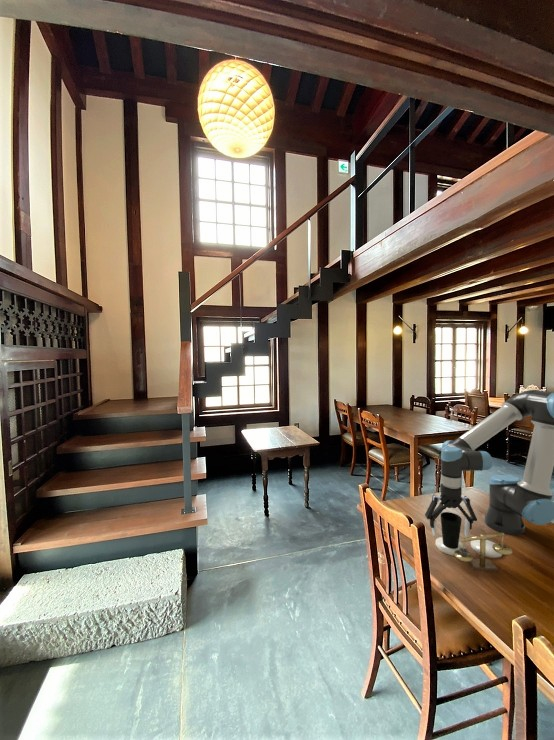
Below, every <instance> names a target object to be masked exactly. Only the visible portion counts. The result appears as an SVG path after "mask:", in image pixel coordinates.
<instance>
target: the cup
mask: <svg viewBox="0 0 554 740" xmlns="http://www.w3.org/2000/svg"><path fill="white" fill-rule="evenodd" d="M462 520H463V519H462V517H461V516H460V515H459V514H456V513H453V512H451V511H450V512H449V511H442V512H441V513H440V523H441V534H442V535H441V537H442V538H443V544H444V546H446V547H448V548H451V549H456V548H458V544H459V541H460V535H461V526H462Z"/></svg>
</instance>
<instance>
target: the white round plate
mask: <svg viewBox="0 0 554 740" xmlns="http://www.w3.org/2000/svg"><path fill="white" fill-rule="evenodd" d="M493 544H497V543H496V542H493V541H491V540H488V539H486V553H485V558H490V559H499V558H501V557H503V554H500V553H498V552H496V551H495V550H494V549H493ZM470 548H471V549H472V550H473V552H474V553H477V554H478V555H480V540H474V541H470Z"/></svg>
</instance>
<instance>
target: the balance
mask: <svg viewBox="0 0 554 740" xmlns="http://www.w3.org/2000/svg"><path fill="white" fill-rule="evenodd" d="M499 537H500V538H501V543H496V544H493V549H494V550H495V551H496V552H498V553H500V554H503V555H504V556H511V555H512V554H513V550H512V548H510V547H509V546H507V545H505V544H504V537H505V533H502V532H497V533H490V534H489V533H488V534H484V533H480V534H479V535H477V536H470V537H469V538H467V537H463V538H461V541H462V544H463V548H459V550H457V551H455V552H454V555H455V556H454V557H455V558H456V559H457V560H459V561H461V562H465V563H468V564H469V565H470V566H471V568H472V569H473V570H474V571H477V572H478V571H479V572H493V573H494V572H495V573H498V571H499V570H498V567H497V566H496V565H495V564H494V563H493V562H492V561H493V560H491V559H486V557H485V553H486V540H488V539H494V538H499ZM474 540H480V554H479V558H474V557H473V555H472V554H471V553H469V552H468V551H467V548H466V549H464V546H465V543H466V542H471V541H474ZM503 555H502V556H503Z"/></svg>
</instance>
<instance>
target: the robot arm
mask: <svg viewBox="0 0 554 740" xmlns="http://www.w3.org/2000/svg"><path fill="white" fill-rule="evenodd" d="M526 417H531V418H530V422H531V424H533V431H532V436H531V440H530V443H529V449H528V453H527V458H526V462H525V467H524V473H523V477H522V479H520V478H518V477H516V476H512V475H505V474H496V475H492V476H491V477H490V478H489V483H488V484H489V498H488V500H489V501H488V502H489V503H488V504H489V505H488V508H487V510H486V513H485V515H484V523H485V524H486V526H488V527H489V528H491V529H492V530H495V531H497V532H498V533H504V534H507V535H512V536H513V535H515V536H517V535H522V534H524V533H525V532H526V531H525V529H526V526H525V522H524V520H525V521H527V522H530V523H532V524H533V525H537V526H543V525H548V524H549V523H551V522H553V521H554V501H553V500H552V499H553V491H551V490H550V484H551V481H552V480H551V479H552V475H553V471H554V391H548V390H545V391H544V390H539V389H529V390H524V391H522V392H519V393H517V394H515V395H513V396H511V397H509V398H508V399H507V400H505V401H503V402H502V403H501V407H500V408H498V409H497V410H495V411H494V412H492V413H491V414H490V415H488V416H487V417H485V418H484V419H483V420H481V421H480V422H478V423H477V424H476V425H474V426H473V427H471V428H470V429H469V430H467V431H466V432H464V433H463V434H461V436H459V437H458V438H455V440H446V441H444V442H443V443H442V445H441V453H440V495H438V496H437V495H435V494H433V495H432V498H431V502H430V504H429V506H428V508H427V510H426V512H425V514H424V516H425V518H426V519H427V520H429V526H430V528H431V534H432V535H433V537H435V538H437V523H438V522H437V520H436V519H437V518H438V517H439V516H441V513H443V512H444V510H446V509H447V508H448V509H451V508H452V509H456V508H457V509H458V510H459V511H460V512H461V514H462V515H463V516H464V518H465V519H464V524H463V525H464V531H463V532H464V536H465V538H469V537H471V536H470V535H471V534H470V531H471V530H472V529H473V524H474V522H477V521H478V518H477V516H476V514H475V511H474V509H473V506H472V505H471V499H470V498H469V497H468V496H467V495H464V496H462V495H463V494H462V491H463V488H462V483H463V479H462V477H463V472H469V471H470V472H472V471H473V472H475V471H479V472H480V471H489V470H490V469H492V467H493V458H492V456H491V454H490V453H489V452H487V451H484V450H476V449H478V448H479V447H480V446H481V445H483V444H484V443H486V442H487V441H489V440H490V439H491V438H492V437H494V436H495V435H497V434H498V433H499V432H501V431H504V429H505V428H506V427H508V426H510V425H511V424H512V423H514V422H516V421H522V420H523V419H524V418H526ZM439 501H440V502H439ZM462 502H463V503H464V504H465V507H466V509H467V511H468V513H469V514H468V513H467V511H465V510H464V508H463V507H462V506H461V503H462ZM438 503H439V504H438ZM437 505H438V506H437ZM523 519H524V520H523Z"/></svg>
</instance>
